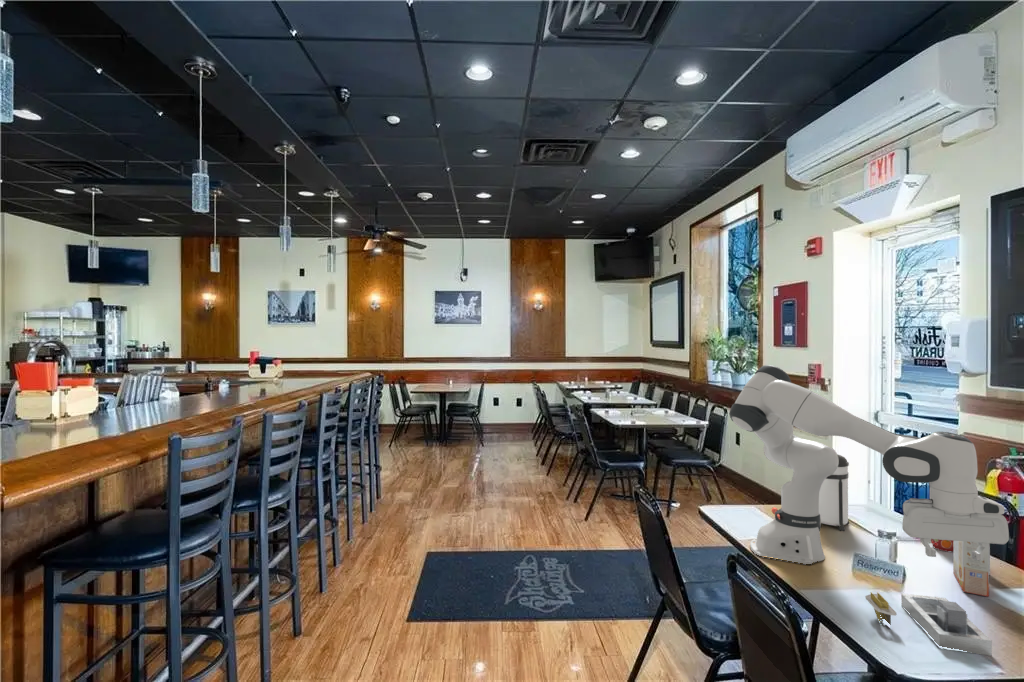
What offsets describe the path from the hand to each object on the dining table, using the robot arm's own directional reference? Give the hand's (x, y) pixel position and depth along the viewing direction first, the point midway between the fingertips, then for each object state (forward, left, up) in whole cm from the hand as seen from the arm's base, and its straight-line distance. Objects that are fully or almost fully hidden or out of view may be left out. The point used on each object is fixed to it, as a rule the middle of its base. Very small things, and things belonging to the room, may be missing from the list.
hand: (953, 557), depth 124 cm
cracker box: (+19, +33, -20) cm, 43 cm away
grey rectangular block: (-1, 0, -19) cm, 19 cm away
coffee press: (-5, +79, -20) cm, 82 cm away
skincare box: (+26, +45, -20) cm, 56 cm away
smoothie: (+25, +62, -20) cm, 70 cm away
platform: (-14, +5, -20) cm, 25 cm away
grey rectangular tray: (-1, +4, -20) cm, 20 cm away
